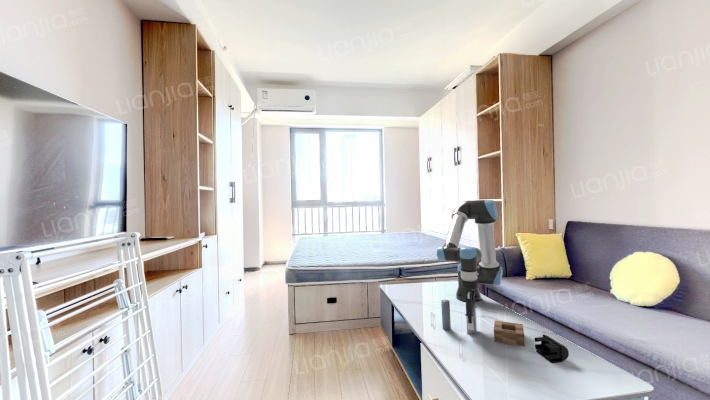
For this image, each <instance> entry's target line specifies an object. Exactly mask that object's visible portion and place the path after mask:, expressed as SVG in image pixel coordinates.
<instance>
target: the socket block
mask: <svg viewBox="0 0 710 400" xmlns="http://www.w3.org/2000/svg"><path fill="white" fill-rule="evenodd" d="M493 322H494V323H493V340H494V342H495V343H500V344H507V345H514V346H518V347H526V344H525V343H526V341H525V330H524V324H523V323H517V322H510V321H503V320H494V321H493Z"/></svg>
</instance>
